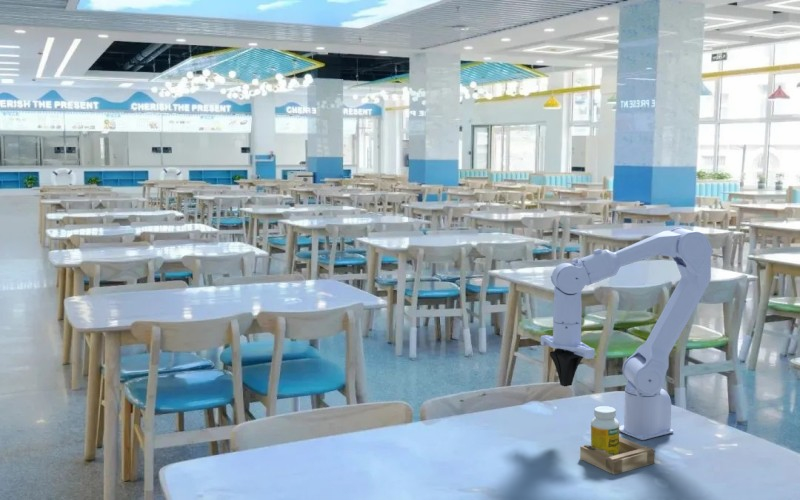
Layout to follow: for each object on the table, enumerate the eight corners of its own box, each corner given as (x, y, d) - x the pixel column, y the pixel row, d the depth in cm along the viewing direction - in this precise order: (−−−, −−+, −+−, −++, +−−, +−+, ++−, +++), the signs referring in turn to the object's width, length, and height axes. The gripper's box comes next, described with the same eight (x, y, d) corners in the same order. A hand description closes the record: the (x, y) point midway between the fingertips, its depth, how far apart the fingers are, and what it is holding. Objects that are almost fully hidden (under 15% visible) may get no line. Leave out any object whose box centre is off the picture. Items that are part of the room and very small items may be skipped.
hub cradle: (619, 448, 164) (620, 435, 164) (654, 463, 157) (654, 449, 156) (580, 458, 159) (580, 445, 159) (613, 474, 152) (614, 460, 151)
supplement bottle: (599, 449, 164) (599, 402, 163) (624, 455, 160) (624, 408, 159) (585, 457, 160) (585, 409, 159) (610, 464, 156) (610, 415, 155)
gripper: (529, 317, 175) (529, 379, 176) (576, 330, 162) (575, 397, 164) (555, 313, 178) (554, 374, 180) (603, 326, 166) (601, 391, 168)
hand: (566, 385), depth 172 cm, fingers closed
